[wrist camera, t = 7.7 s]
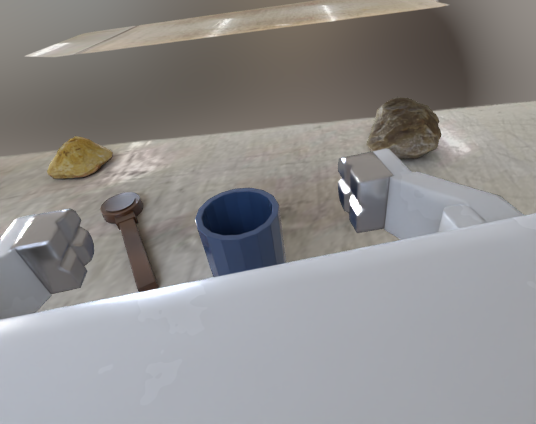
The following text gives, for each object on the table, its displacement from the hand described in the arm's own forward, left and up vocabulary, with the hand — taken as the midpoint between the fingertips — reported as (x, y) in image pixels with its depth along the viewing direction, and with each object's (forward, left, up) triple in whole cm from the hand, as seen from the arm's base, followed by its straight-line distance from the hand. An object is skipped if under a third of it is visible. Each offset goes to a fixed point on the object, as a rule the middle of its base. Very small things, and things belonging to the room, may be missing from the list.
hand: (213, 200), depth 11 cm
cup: (+10, +7, -19) cm, 23 cm away
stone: (+42, 0, -20) cm, 46 cm away
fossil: (+23, +50, -20) cm, 58 cm away
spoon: (+12, +25, -19) cm, 34 cm away
